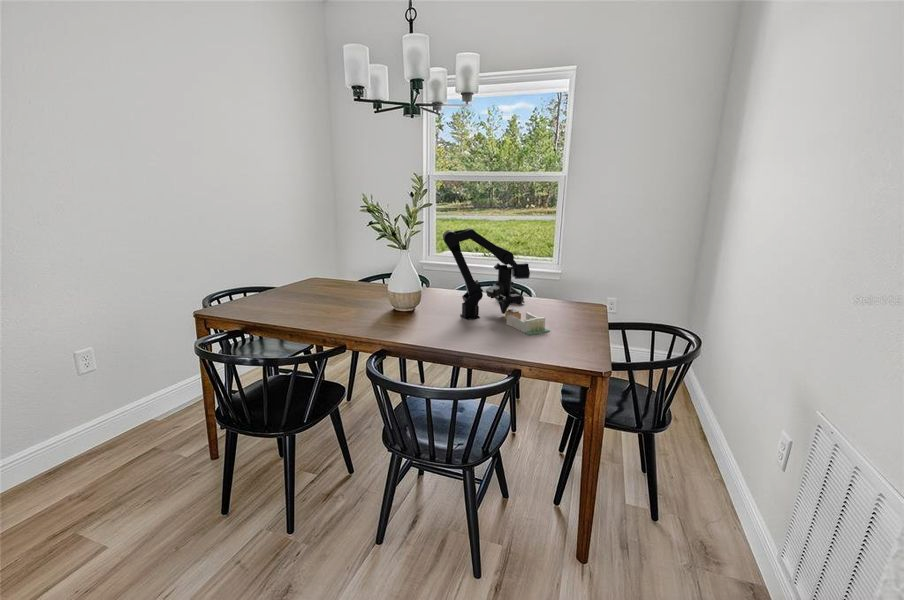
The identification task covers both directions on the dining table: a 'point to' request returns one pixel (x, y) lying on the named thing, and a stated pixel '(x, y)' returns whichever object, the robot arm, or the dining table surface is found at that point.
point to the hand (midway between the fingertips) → (503, 313)
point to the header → (528, 324)
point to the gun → (518, 294)
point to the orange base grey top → (512, 313)
